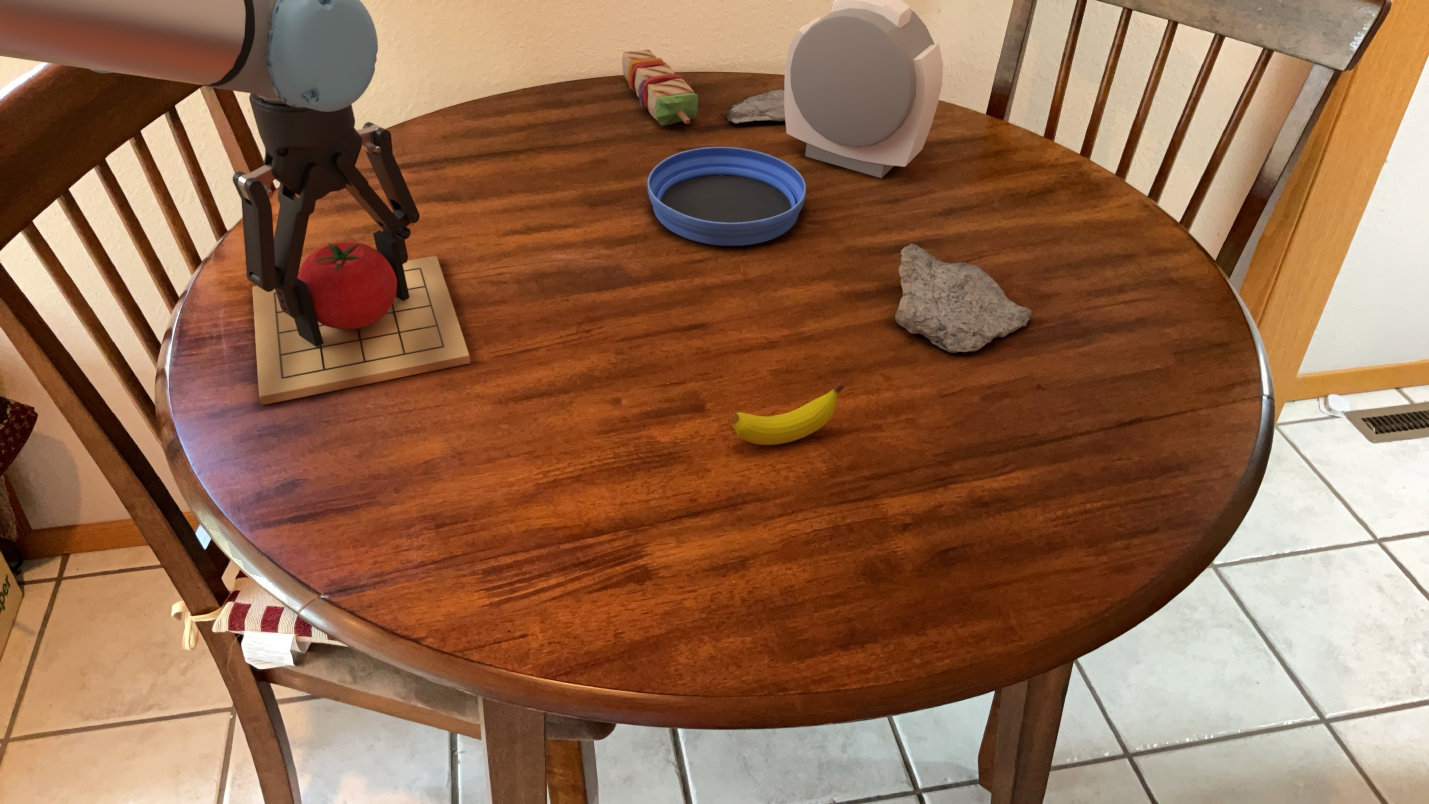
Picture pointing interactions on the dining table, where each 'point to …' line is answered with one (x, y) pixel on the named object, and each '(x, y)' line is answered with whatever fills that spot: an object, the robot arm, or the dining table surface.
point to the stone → (759, 108)
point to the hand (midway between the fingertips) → (355, 316)
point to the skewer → (659, 88)
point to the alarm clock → (863, 85)
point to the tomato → (349, 284)
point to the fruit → (786, 421)
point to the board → (359, 341)
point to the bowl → (726, 195)
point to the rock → (954, 303)
